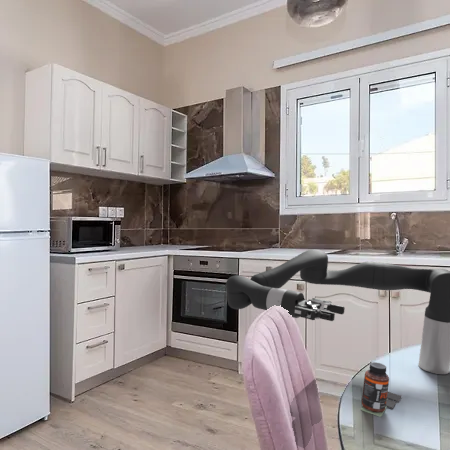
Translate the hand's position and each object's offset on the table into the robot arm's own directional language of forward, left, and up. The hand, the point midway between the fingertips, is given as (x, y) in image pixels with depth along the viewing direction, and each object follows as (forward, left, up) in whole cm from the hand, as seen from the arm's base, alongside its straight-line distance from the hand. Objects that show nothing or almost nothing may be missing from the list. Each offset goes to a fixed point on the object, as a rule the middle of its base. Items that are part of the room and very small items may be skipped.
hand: (339, 313), depth 113 cm
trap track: (-3, +13, -22) cm, 26 cm away
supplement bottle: (+2, +12, -22) cm, 25 cm away
